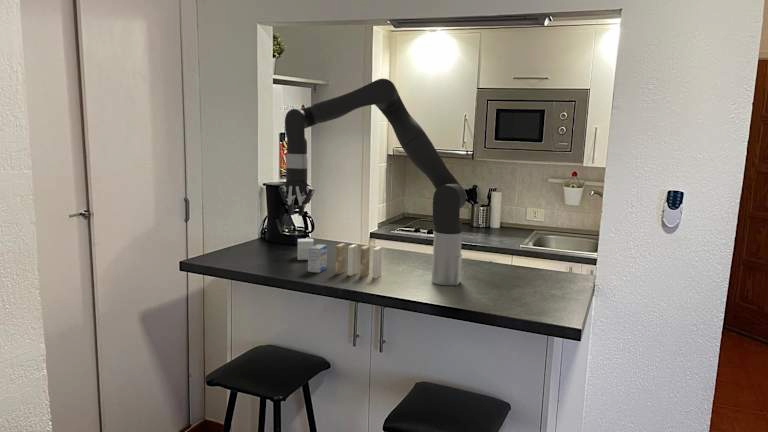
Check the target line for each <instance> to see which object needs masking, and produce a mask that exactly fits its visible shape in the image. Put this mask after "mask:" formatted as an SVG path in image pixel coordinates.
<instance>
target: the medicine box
mask: <svg viewBox="0 0 768 432" xmlns="http://www.w3.org/2000/svg"><path fill="white" fill-rule="evenodd" d="M327 268H328V245H327V244H319V243H318V244H313V246H312V247H310V248H308V261H307V272H308V273H319V274H320V273H322V272H323V271H324V270H326V269H327Z"/></svg>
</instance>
